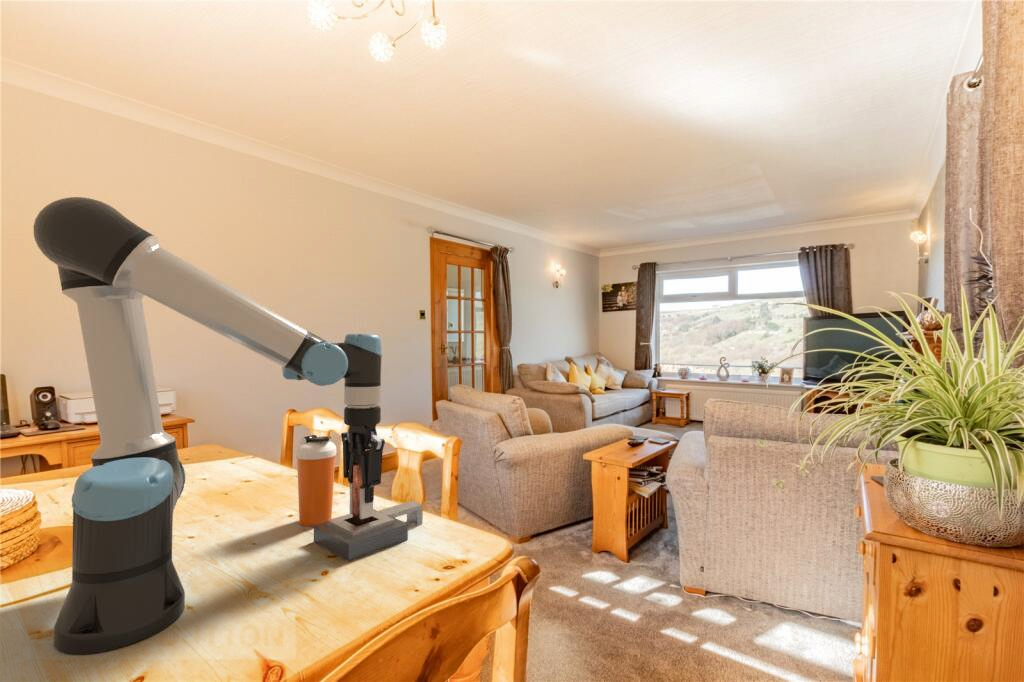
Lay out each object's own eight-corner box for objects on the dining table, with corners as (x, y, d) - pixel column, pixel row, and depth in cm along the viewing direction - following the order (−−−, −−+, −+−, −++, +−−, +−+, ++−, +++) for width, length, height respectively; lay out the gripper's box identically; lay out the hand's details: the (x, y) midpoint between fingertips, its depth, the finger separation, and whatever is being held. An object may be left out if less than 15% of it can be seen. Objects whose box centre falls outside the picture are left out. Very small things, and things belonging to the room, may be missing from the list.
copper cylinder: (358, 534, 99) (359, 467, 99) (349, 530, 101) (349, 464, 101) (373, 529, 102) (374, 464, 102) (363, 525, 104) (364, 461, 104)
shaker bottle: (321, 529, 107) (322, 441, 107) (286, 526, 109) (287, 439, 109) (342, 515, 116) (344, 434, 116) (310, 512, 118) (311, 432, 118)
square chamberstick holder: (348, 561, 92) (348, 543, 92) (313, 541, 101) (313, 525, 101) (407, 539, 102) (407, 523, 102) (371, 523, 111) (371, 508, 111)
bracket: (352, 555, 94) (352, 532, 95) (327, 541, 101) (327, 520, 101) (430, 526, 110) (430, 507, 110) (404, 516, 116) (404, 497, 116)
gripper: (400, 407, 99) (398, 519, 99) (357, 400, 110) (356, 502, 110) (368, 411, 94) (367, 530, 93) (327, 403, 104) (325, 510, 104)
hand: (361, 514), depth 102 cm, fingers closed on copper cylinder, 3 cm apart
